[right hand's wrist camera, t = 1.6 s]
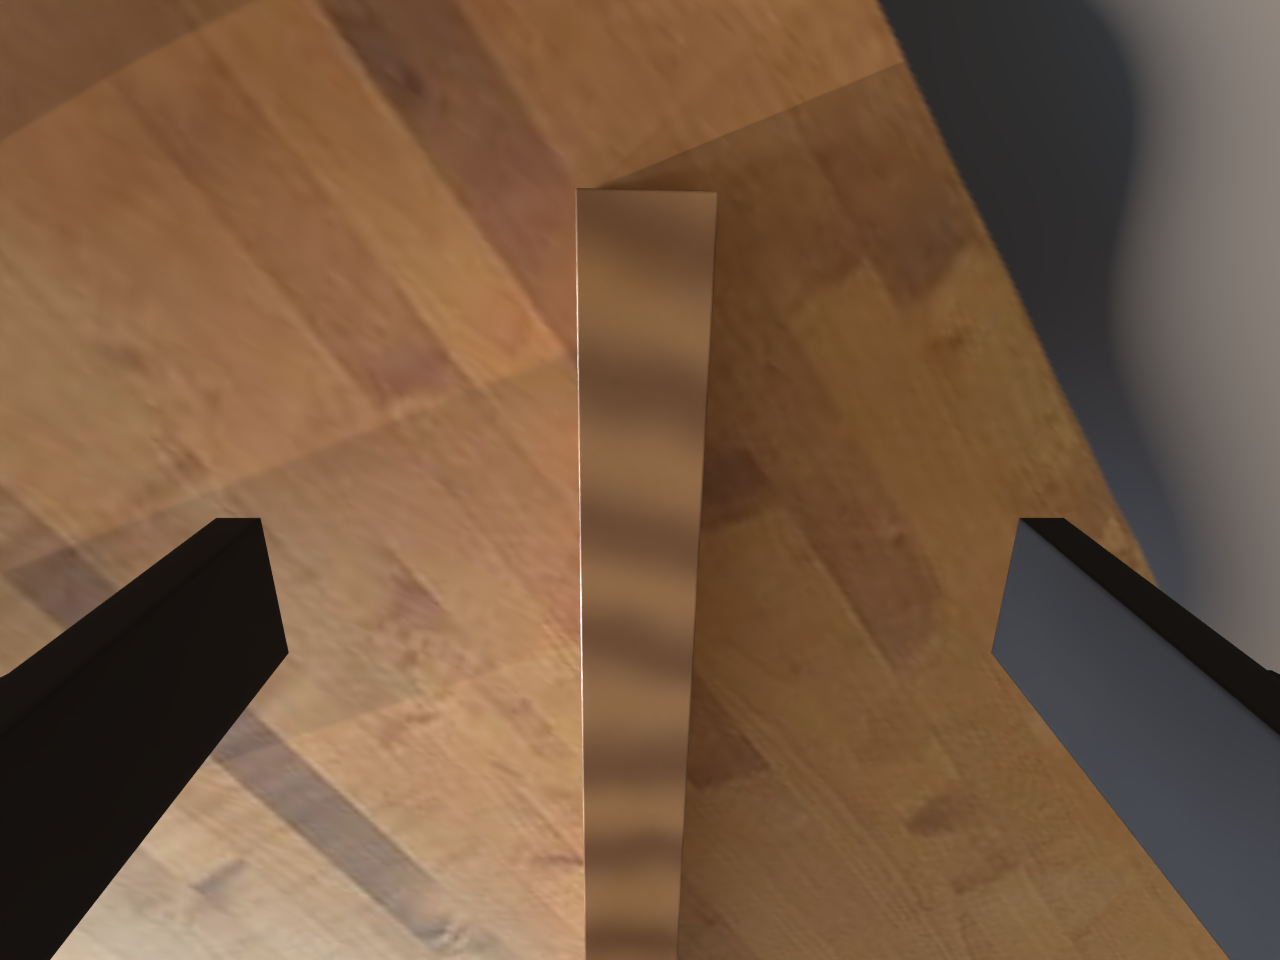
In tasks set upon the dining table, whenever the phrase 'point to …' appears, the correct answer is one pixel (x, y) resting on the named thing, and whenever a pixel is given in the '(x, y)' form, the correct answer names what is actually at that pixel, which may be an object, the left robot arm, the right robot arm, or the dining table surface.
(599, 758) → the post
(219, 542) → the right robot arm
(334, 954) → the dining table surface
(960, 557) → the dining table surface
